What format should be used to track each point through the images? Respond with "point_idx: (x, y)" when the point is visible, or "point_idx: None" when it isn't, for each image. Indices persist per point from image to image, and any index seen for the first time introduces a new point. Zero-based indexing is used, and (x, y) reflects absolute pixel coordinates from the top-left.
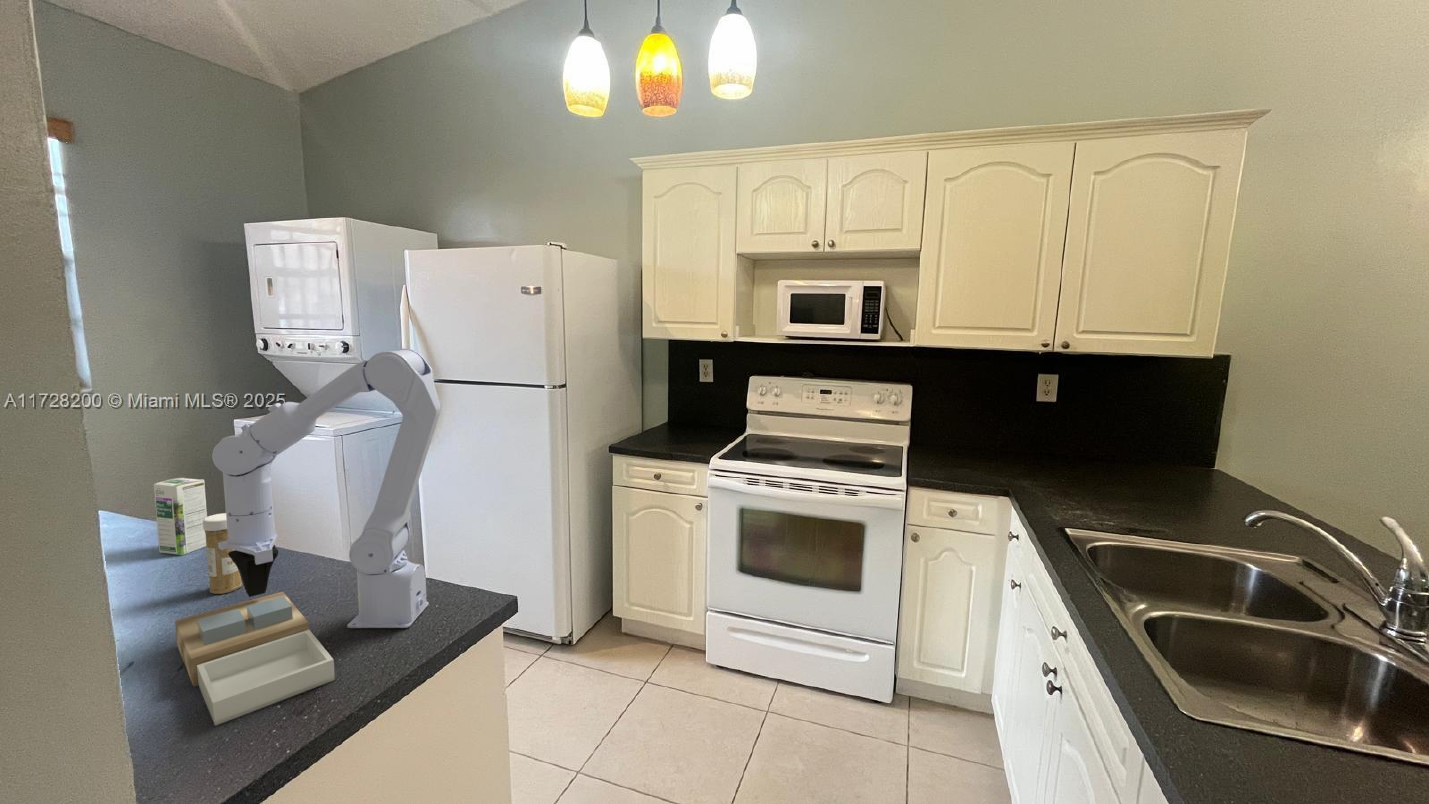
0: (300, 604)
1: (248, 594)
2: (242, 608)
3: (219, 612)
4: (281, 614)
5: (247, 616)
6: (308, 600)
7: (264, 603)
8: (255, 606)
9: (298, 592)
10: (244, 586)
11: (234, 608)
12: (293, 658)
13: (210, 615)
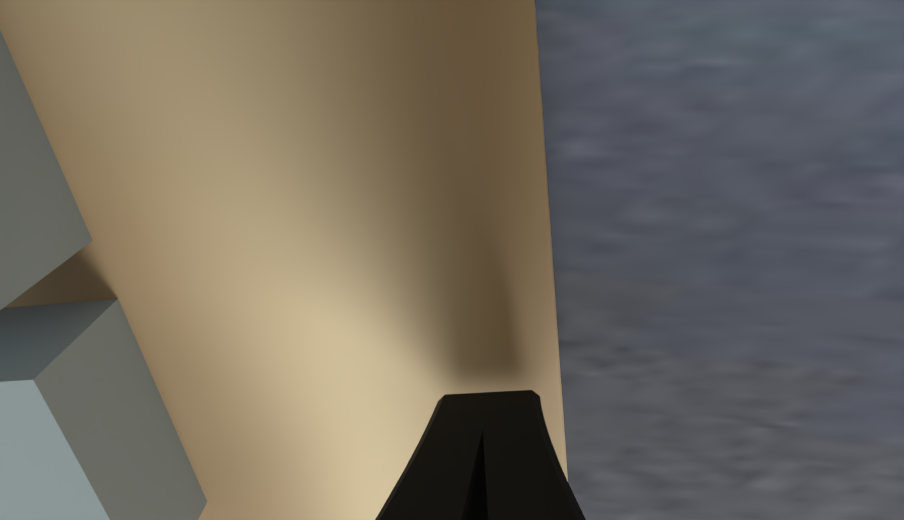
0: (652, 474)
1: (437, 411)
2: (397, 285)
3: (425, 106)
4: None
5: (175, 302)
6: (678, 509)
7: (43, 492)
8: (2, 433)
9: (866, 494)
10: (489, 459)
11: (442, 231)
12: None
13: (388, 21)
